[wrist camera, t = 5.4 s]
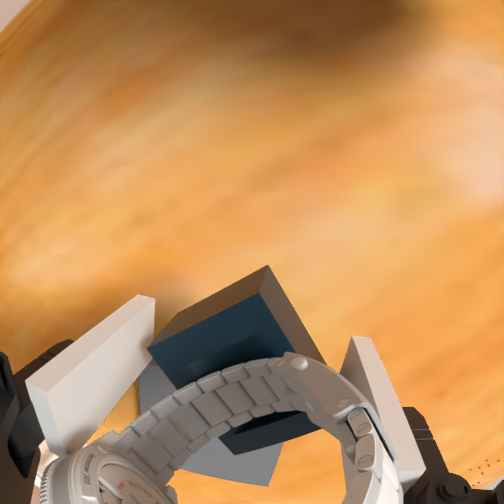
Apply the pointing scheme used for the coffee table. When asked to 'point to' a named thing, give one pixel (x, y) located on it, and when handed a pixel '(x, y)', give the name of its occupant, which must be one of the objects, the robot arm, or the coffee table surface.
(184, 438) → the watch
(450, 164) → the coffee table surface
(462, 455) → the coffee table surface
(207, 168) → the coffee table surface
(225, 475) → the mat
